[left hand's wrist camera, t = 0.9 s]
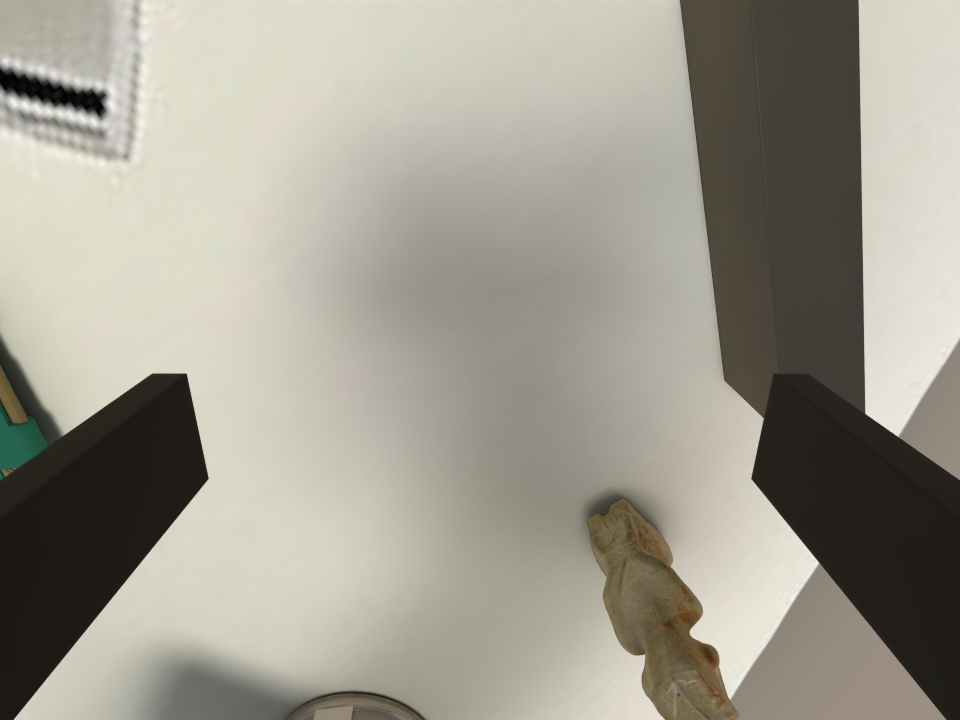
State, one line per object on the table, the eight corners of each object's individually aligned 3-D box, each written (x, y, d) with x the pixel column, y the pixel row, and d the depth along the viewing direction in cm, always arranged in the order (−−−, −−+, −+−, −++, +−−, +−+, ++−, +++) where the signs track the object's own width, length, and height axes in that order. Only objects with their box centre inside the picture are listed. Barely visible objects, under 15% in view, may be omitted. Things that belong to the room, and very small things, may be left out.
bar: (789, 365, 39) (865, 419, 31) (724, 380, 39) (784, 437, 32) (762, -28, 31) (857, -86, 23) (679, -3, 31) (746, -52, 23)
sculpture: (613, 574, 46) (672, 764, 32) (567, 514, 43) (609, 690, 29) (676, 541, 44) (767, 724, 30) (633, 478, 42) (709, 644, 28)
